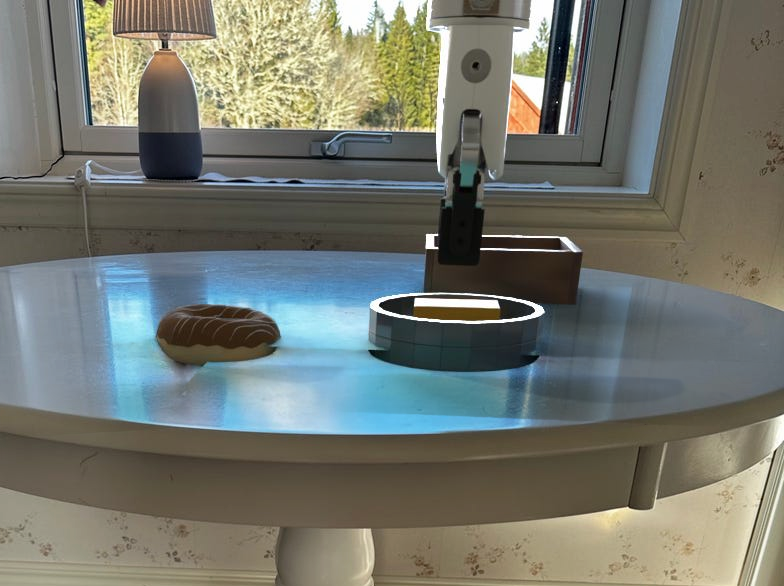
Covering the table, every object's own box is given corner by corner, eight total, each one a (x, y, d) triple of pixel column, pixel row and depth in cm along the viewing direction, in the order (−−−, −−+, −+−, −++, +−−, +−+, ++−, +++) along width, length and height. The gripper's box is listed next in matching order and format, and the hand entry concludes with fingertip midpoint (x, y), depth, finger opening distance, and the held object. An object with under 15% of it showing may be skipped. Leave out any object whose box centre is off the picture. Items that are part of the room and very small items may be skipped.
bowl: (529, 346, 88) (535, 295, 86) (545, 384, 75) (553, 325, 73) (372, 341, 89) (375, 290, 87) (363, 378, 77) (365, 319, 74)
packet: (492, 348, 83) (497, 300, 81) (495, 358, 80) (500, 308, 78) (412, 345, 84) (415, 297, 82) (411, 355, 80) (414, 305, 78)
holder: (558, 300, 110) (566, 237, 107) (573, 322, 98) (583, 251, 95) (422, 296, 112) (426, 234, 109) (421, 317, 100) (426, 248, 97)
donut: (152, 347, 86) (149, 301, 84) (268, 343, 88) (267, 298, 86) (162, 375, 77) (159, 323, 75) (291, 370, 79) (291, 319, 77)
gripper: (543, -6, 62) (510, 273, 70) (521, 19, 77) (496, 246, 85) (427, -8, 63) (408, 269, 71) (428, 17, 78) (412, 243, 86)
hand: (456, 257), depth 78 cm, fingers open, 9 cm apart
